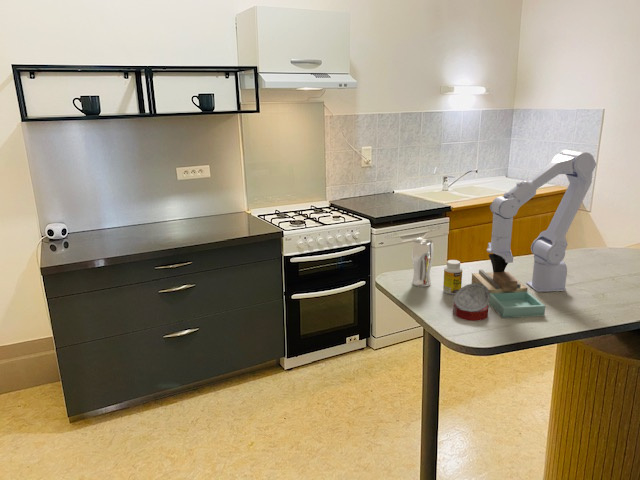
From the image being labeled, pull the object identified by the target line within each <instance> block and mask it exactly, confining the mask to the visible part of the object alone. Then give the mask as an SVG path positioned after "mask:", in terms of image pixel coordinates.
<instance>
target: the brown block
mask: <svg viewBox="0 0 640 480" xmlns="http://www.w3.org/2000/svg"><path fill="white" fill-rule="evenodd" d="M492 272H493V271H492ZM507 272H508V271H505V272H493V280H494V281H495V282H496V283H497V284H498V280H499V277H507V276H511V275H512V274H511V275H509V274H508V273H507Z"/></svg>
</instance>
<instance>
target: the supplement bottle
mask: <svg viewBox="0 0 640 480" xmlns="http://www.w3.org/2000/svg"><path fill="white" fill-rule="evenodd" d="M443 271H444V272H443V286H442V287H443V290H442V291H443V292H444V293H445V294H447V295H453V296H455V294H456V292H458V291H459V290H460V288H462V284H463V283H462V281H463V268H462V267H461V261H460V260H457V259H449V260H447V262H446V266H445V267H444V268H443Z"/></svg>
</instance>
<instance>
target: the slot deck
mask: <svg viewBox="0 0 640 480" xmlns="http://www.w3.org/2000/svg"><path fill="white" fill-rule="evenodd" d="M504 272H507V273H508V274H509V275H511V276H512V277H513V278H514V279H515V280H517V290H515V291H503V290H502V289H501V288H500V285H499V284H497V283H496V282H495V281H494V280H493V271H491V272H485V270H483V269H478V272H477V273H476V272H475V273H471V284H472V283H481V284H483V285H484V286H486V287H487V288H488V290H489V292H490V293H501V292H521V291H528V287H527V286H526V285H525V284H524V283H522V282H521V281H520V280H518V279H517V278H516V277H515V276H514V275H513V274H511V273H510V272H509V271H505V270H504Z"/></svg>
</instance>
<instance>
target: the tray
mask: <svg viewBox="0 0 640 480" xmlns="http://www.w3.org/2000/svg"><path fill="white" fill-rule="evenodd" d="M488 305H489V306H491V307H492V308H493V309H494V310H495V311H496V312H497V313H498V314H499V316H501V318H503V319H504V318H505V319H507V318H524V317H525V318H527V317H544V316H546V315H545V313H546V305H545V304H544V303H543V302H541V300H539V299H538V298H537V297H535V296H534V295H533V294H532V293H531V292H530V291H528V290H527V291H521V292H501V293H490V301H489V304H488Z"/></svg>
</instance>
